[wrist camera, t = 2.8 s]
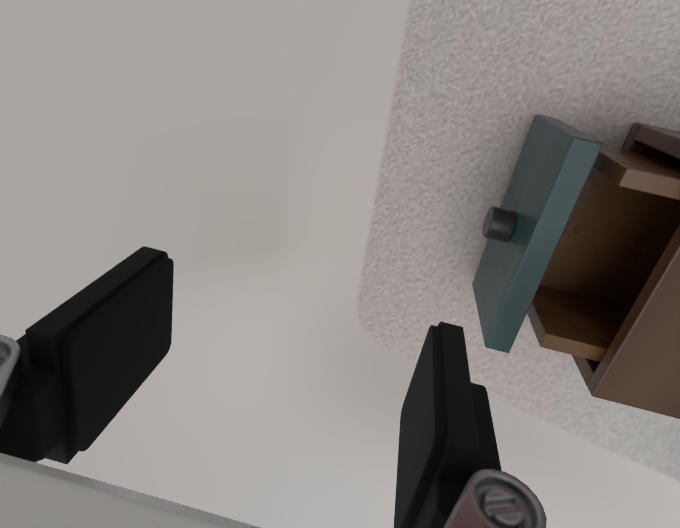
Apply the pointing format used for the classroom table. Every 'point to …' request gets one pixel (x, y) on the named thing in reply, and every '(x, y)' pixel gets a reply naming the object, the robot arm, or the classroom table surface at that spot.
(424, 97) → the classroom table surface
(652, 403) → the cabinet
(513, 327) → the drawer
